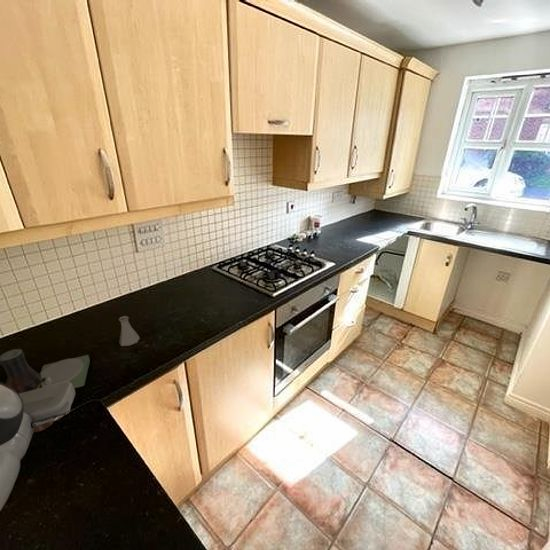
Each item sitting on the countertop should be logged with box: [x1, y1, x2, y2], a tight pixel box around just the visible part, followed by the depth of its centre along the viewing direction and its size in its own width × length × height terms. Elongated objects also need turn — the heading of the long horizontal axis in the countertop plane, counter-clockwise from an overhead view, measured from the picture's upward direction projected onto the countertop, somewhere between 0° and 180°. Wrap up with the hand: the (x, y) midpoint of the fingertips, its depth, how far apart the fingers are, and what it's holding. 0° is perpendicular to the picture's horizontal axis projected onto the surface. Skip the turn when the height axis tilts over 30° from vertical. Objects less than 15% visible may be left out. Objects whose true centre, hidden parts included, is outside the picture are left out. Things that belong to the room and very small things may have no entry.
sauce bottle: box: [0, 348, 55, 433], centre depth 67 cm, size 6×6×20 cm
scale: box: [39, 354, 91, 389], centre depth 96 cm, size 13×14×3 cm
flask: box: [118, 315, 140, 347], centre depth 112 cm, size 7×7×10 cm
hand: (27, 384), depth 68 cm, fingers closed on sauce bottle, 6 cm apart
